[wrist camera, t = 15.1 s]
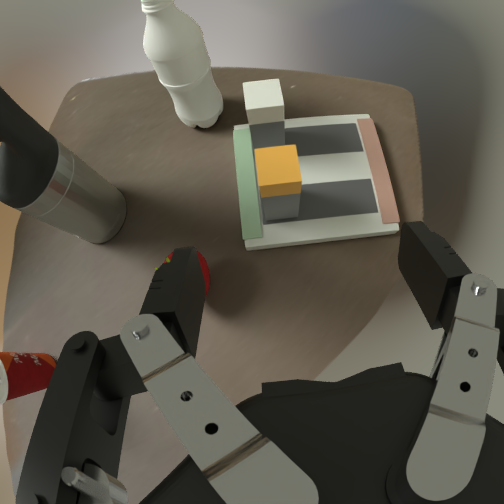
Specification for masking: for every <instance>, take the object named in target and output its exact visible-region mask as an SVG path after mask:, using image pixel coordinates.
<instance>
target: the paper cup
mask: <svg viewBox="0 0 504 504" xmlns="http://www.w3.org/2000/svg"><path fill="white" fill-rule="evenodd" d="M55 367H56V362H55V361H54V359H53V358H52V357H51V356H50V355H48V354H44V353H14V352H0V405H1V404H3V403H4V402H5V401H7V400H10V399H14V398H17V397H20V396H24V395H27V394H30V393H33V392H36V391H40V390H43V389H46V388H48V385H49V382H50V380H51V377H52V374H53V372H54V369H55Z"/></svg>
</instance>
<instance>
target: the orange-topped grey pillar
mask: <svg viewBox="0 0 504 504" xmlns="http://www.w3.org/2000/svg"><path fill="white" fill-rule="evenodd" d="M255 158H256V166H257V175H258V183H259V189H260V194H261V199H262V204H263V209H264V214H265V219H266V221H269V220H277V219H286V218H295V217H298V212H299V203H300V195H301V186H302V178H301V172H300V166H299V161H298V155H297V150H296V144H294V145H284V146H275V147H267V148H258V149H255Z"/></svg>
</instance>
